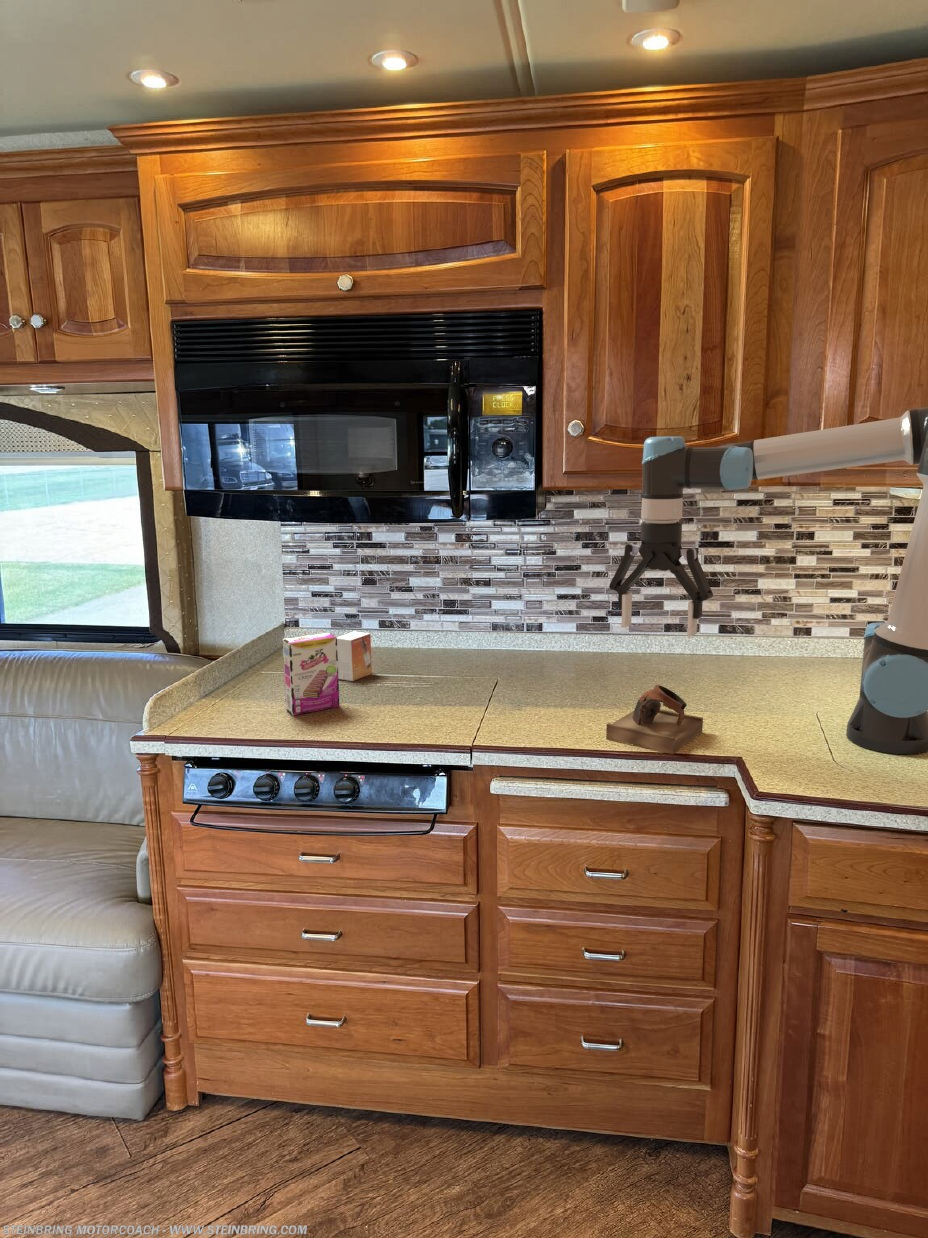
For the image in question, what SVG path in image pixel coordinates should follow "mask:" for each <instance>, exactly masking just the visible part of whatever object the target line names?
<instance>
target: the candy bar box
mask: <svg viewBox="0 0 928 1238" xmlns="http://www.w3.org/2000/svg"><path fill="white" fill-rule="evenodd" d="M337 637H338V636H336V635H334V634H333V633H330V632H323V633H317V634H308V635H302V636H301V635H300V636H294V637H285V638H282V639H281V640H282V643H281V644H282V657H283V672H284V674H283V677H284V679H283V680H284V695H285V697H284V698H285V710H286V711H287V712H289V713H290V714H291V715H292V716H298V715H302V714H303V715H304V714H308V713H313V712H318V711H324V710H329V709H335V708H338V707H340V685H339V684H340V682H339V680H340V679H339V677H338V653H337Z"/></svg>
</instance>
